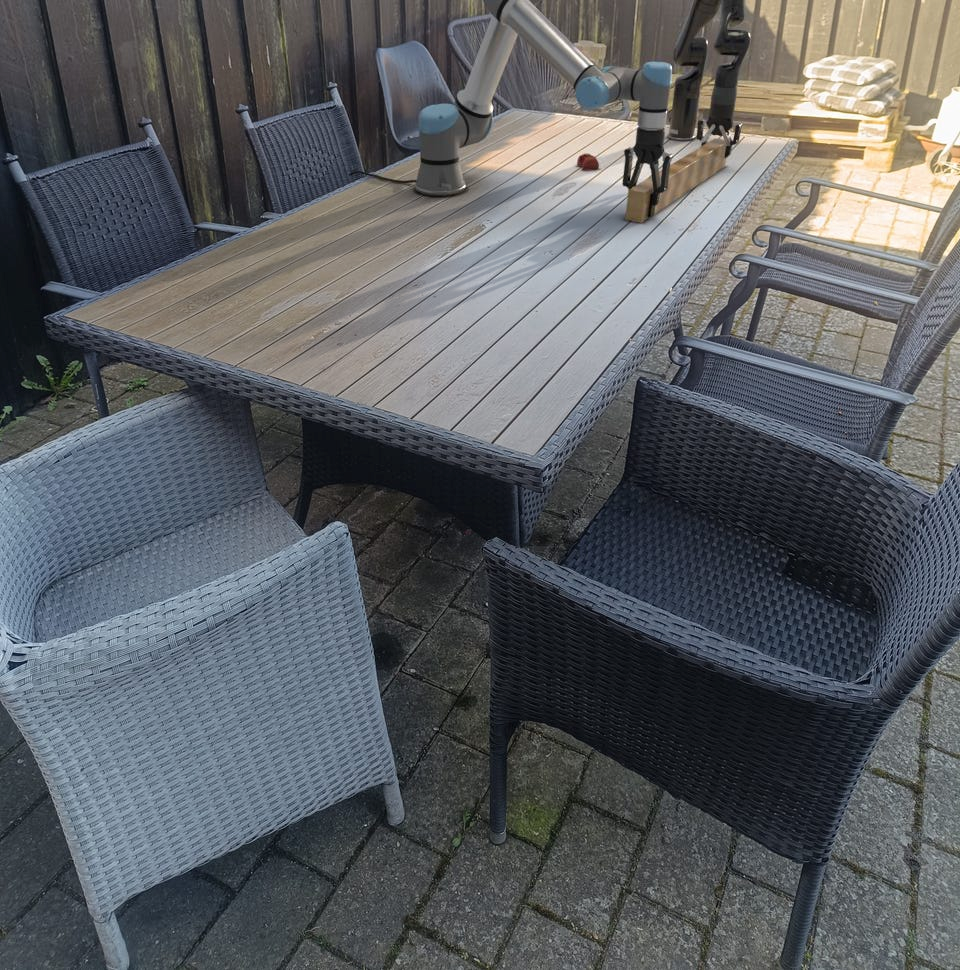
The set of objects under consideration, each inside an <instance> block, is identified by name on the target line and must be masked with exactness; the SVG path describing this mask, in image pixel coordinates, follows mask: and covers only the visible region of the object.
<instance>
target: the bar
mask: <svg viewBox="0 0 960 970" xmlns="http://www.w3.org/2000/svg"><path fill="white" fill-rule="evenodd" d="M707 142H708V143H706V144H705V145H703V146H701V145H700V146H699V147H698V148H696V149H694V150H693V151H691V152H689V153H688V154H686V155H684V156H683V157H681V158H679V159H678V160H676V161H674V162H673V163H670V170H669V179H668V188H667V190H666V191H665V192H663V193H660V197H659V203H658V205H656V206H655V213H654V215H656V214H657V213H659V212H661V211H662V210H663V209H665V208H666V207H668V206H669V205H671V204H672V203H673V202H675V201H676V200H678V199H679V198H681V197H682V196H684V195H686V194H687V193H689V192H690V191H692V190H693V189H694V188H696V187H697V186H698V185H700V184H702V183H703V182H705V181H706V180H708V179H709V178H711V177H712V176H713V175H715V174H717V173H718V172H719V171H721V170H722V169H724V168H725V167H726V164H727V159H728V157H727V158H724V155H725V149H726V146H727V144H726V141H725V140H724V138H723V139H722V138H713V139H711V140H709V141H707ZM661 175H662V169H661V170H659V176H660V185H661ZM651 193H653V184H652V175H650V176H649V177H647V178H646V179H644V180H642V181H641V182H639V183H637V184H636V186H634V187H632V188H631V189H629V190H627V201H626V207H625V208H626V209H625V221H628V222H629V221H630V222H634V223H635V222H636V223H639V224H643V223H644V222H645V221H647V220H648V219H650V218H649V217H648V212H649V203H650V195H651Z"/></svg>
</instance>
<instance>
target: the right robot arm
mask: <svg viewBox="0 0 960 970" xmlns="http://www.w3.org/2000/svg"><path fill="white" fill-rule="evenodd" d="M719 12H720V22H719V25H718V30H717V33H716V36H715V38H714V44H713V49H714V52H715V54H716V55H718V56H719V57H720V56H723V57H733V59H732V60H731V61H729V62H726V63H721V64H718V66H717V67H716V70H715V77H714V85H713V89H712V92H711V97H710V106H709V112H708V118H707V119H704V118H701V119H698V121H697V118H698V111H699V106H700V105H699V104H700V97H701V91H702V83H703V79H704V75H705V74H704V73H705V68H706V65H707V64H706V63H707V59H708V54H709V53H708V51H709V43H708V39H707V38H706V37H705V36H697V34H698V33H699V32H700V31H701V30H702V29H704V27H706V26H707V25H709V23H710V22H711V21H713V20H714V19H715V17H717V15H718V14H719ZM745 18H746V0H692V3H691V6H690V9H689V12H688V14H687V18H686V20H685V22H684V25H683V27H682V29H681V32H680V34H679V36H678V38H677V41H676V43H675V45H674V50H673V62H674V64H675V65H676V66H679V67H691V68H690V69H689V71H687V72H686V73H684V74H682V75H679V76H678V77H676V79H675V81H674V88H673V97H672V106H671V114H670V117H669V119H668V121H669V122H668V123H669V127H668V136H667V137H668V139H671V140H673V141H674V140H675V141H691V140H694V139H695V138H696V140H697V141H700V142H701V143H700V147H701V146H703V145H705V144H706V143H708V142H709V141H708V140H709V139H710V137H711V136H718V137H722V138H723V140H725V141H726V144H727V146H726V149H725V155H724V158H727V159H728V158H729V157H730V156H731V155H732V150H733V149H732V148H733V146H734V145H737V144H739V142H740V138H741V134H742V133H741V132H742V128H743V124H742V123H734V121H733V119H734V113H735V107H736V101H737V95H738V85H739V78H740V73H741V69H742V66H743V63H744V60H745V58H746V56H747V54H748V52H749V49H750V47H751V43H752V36H751V33H750V32H749V30H747V29H729V28H732V27H736V26H739V25H742V23H743V22H744V21H745ZM696 126H697V127H696ZM706 126H707V128H708V130H707V132H706V133H705V134H704V127H706ZM696 128H697V129H696ZM731 129H732V130H733V132H734V134H733V137H732V134H731ZM695 132H696V133H695ZM695 134H696V137H695Z"/></svg>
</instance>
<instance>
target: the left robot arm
mask: <svg viewBox="0 0 960 970" xmlns="http://www.w3.org/2000/svg"><path fill="white" fill-rule="evenodd" d="M545 1H546V0H482V2H483V4H484V6H485V7H486V9H487V10H488V11H489V13H490V14H491V18H490V21H489V22H488V26H487V28H486V31H485V34H484V37H483V38H482V42H481V44H480V47H479V49H478V53H477V55H476V58H475V61H474V63H473V66H472V69H471V71H470V74H469V76H468V79H467V82H466V84H465V87H464V89H461V90H459V91H458V92H457V93H456V98H455V100H454V102H453V103H452V104H451V103H437V104H431V105H428V106H426V107H424V108H422V110H420V112H419V114H418V126H417V127H418V136H419V138H418V139H419V157H420V158H419V159H420V161H419V162H420V164H419V168H418V172H417V176H416V179H408V180H401V179H394V178H388V177H385V176H381V175H378V174H375V173H369V172H365V171H362V170H353V171H351V172H349V174H348V176H349V177H351V176H353V175H355V174H360V175H365V176H368V177H372V178H376V179H380V180H383V181H387V182H393V183H398V184H412V183H415V185H414V186H415V192H417V193H418V194H420V195H424V196H430V197H450V196H455V195H459V194H461V193H463V192H464V191H466V181H465V179H464V176H463V172H462V169H461V165H460V149H462V148H465V147H468V146H471V145H475V144H478V143H480V142H482V141H483V140H485V139H486V138H487V137H488V136H489V135H490V134H491V133H492V131H493V127H494V121H495V120H494V117H493V115H494V112H493V111H494V105H493V103H492V100H493V98H494V95H495V93H496V90H497V88H498V86H499V83H500V81H501V78H502V76H503V73H504V71H505V68H506V67H507V66H506V65H507V63H508V61H509V59H510V56H511V54H512V50H513V48H514V45H515V43H516V41H517V38H518V36H519V37H520V38H521V39H522V40H523V41H524V42H525V43H526V44H527V45H528V46H529V47H530V48H531V49H532V50H533V51H534V52H535V53H536V54H537V55H538V56H539V57H540V58H541V59H543V61H545V62H546V64H548V66H549V67H550V68H552V70H553V71H555V73H556V74H558V76H559V77H560V78H562V79H563V80H564V81H565V82H566V83H567V84H568V86H570V87H571V88H572V89H573V90H574V92H575V98H576V101H577V103H578V106H580V107H581V108H583V109H585V110H596V109H601V108H603V107H604V106H606V105H609V104H612V103H616V102H618V101H621V100H624V101H633V102H638V103H639V105H638V116H637V123H636V124H637V126H638V127H637V128H636V133H635V134H636V135H635V144H634V146H633V147H628V148H625V149H624V150H623V154H624V167H623V176H622V187H626V188H627V189H628V190H629V189H631V188H632V187H634V186H636V185H637V184H638V181H639V178H640V175H641V172H642V170H643V166H644V165H645V164H646V165H649V169H650V176H652V184H653V193H651V195H650V203H649V212H648V217H649V218H648V219H651V218H652V217H654V216H655V214H654V213H655V206H656V205H658V203H659V197H660V193H663V192H665V191H666V190H667V188H668V179H669V170H670V165H671V164H672V160H673V158H674V154H673V153H668V152H666V151H665V147H664V144H665V138H666V128H665V127H666V126H667V121H668V120H667V119H668V112H669V111H668V110H669V102H670V94H671V88H672V84H673V82H672V78H673V67H672V65H671V64H670V63H668V62H664V61H648V62H645V63H644V64H643V67H642V69H636V68H629V67H623V66H622V67H621V66H619V65H613V66H611V65H610V66H608V65H607V66H604V67H603V68H602V70H600V69H599V68H598V67H597V66H596V65H595V64H594V62H592V61H591V60H590V59H589V58H588V57H587V56H586V55H585V54H584V53H583V52H581V50H580V49H579V48H578V47H576V45H575V44H574V43H572V42H571V40H569V38H568V37H566V35H564V33H563V32H562V31H560V30H559V29H558V28H557V26H556V25H554V24H553V23H552V22H551V21H550V20H549V19H548V18H547V17H546V16H545V15H544V14H543V13H542V12H541V11H540V10H539V9H538V8H537V7H540V6H541V5H542V4H543V3H545ZM634 155H635V156H636V158H637V159H636V161H635V166H634V168H633V161H634ZM661 158H662V166H661V170H662V175H661V185H660V176H659V171H660V169H659V168H660V159H661ZM632 168H633V171H632ZM628 190H627V191H628Z"/></svg>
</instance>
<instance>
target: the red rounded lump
mask: <svg viewBox="0 0 960 970" xmlns="http://www.w3.org/2000/svg"><path fill="white" fill-rule="evenodd" d="M576 161H577V162H576V165H577V166H581V169H582V170H583V171H584V170H597V169H599V168H600V163H599V161H598V159H597V156H594V155H592V154H590V153H587V152H586V153H582V154H580V155H579V156H578V158H577V160H576Z"/></svg>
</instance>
